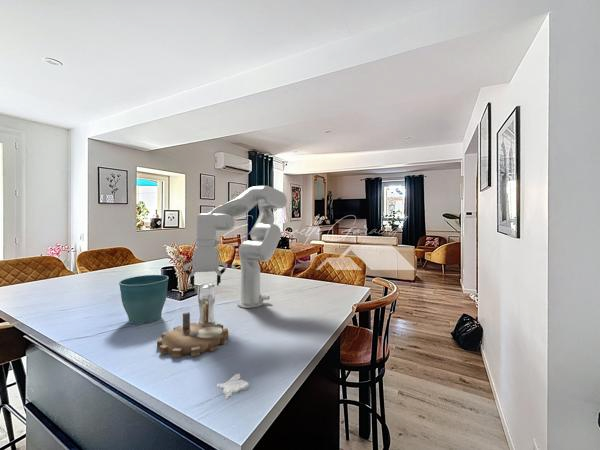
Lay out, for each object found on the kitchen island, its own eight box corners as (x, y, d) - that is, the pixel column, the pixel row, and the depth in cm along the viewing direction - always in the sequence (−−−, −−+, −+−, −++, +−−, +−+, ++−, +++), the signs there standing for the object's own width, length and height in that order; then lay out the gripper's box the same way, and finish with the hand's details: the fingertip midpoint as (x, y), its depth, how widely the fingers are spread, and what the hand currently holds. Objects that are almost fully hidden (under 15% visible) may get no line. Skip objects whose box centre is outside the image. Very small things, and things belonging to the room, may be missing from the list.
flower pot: (133, 331, 102) (133, 287, 101) (110, 321, 112) (110, 280, 111) (177, 317, 117) (177, 278, 117) (154, 309, 127) (153, 273, 126)
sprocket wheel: (196, 323, 110) (196, 304, 109) (241, 334, 100) (241, 313, 99) (141, 347, 89) (141, 324, 89) (191, 364, 79) (191, 338, 79)
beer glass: (218, 319, 114) (218, 284, 114) (208, 326, 108) (208, 288, 107) (205, 317, 117) (205, 283, 116) (193, 323, 110) (193, 287, 110)
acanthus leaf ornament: (238, 377, 75) (238, 370, 75) (252, 389, 70) (252, 382, 69) (212, 388, 69) (212, 381, 69) (225, 402, 64) (225, 394, 64)
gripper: (227, 243, 117) (227, 282, 117) (184, 243, 112) (183, 284, 112) (228, 244, 110) (227, 286, 110) (182, 244, 105) (181, 288, 105)
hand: (205, 285), depth 111 cm, fingers open, 9 cm apart
